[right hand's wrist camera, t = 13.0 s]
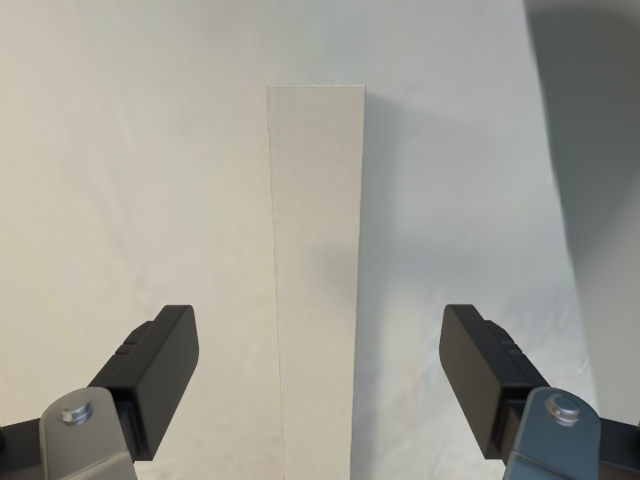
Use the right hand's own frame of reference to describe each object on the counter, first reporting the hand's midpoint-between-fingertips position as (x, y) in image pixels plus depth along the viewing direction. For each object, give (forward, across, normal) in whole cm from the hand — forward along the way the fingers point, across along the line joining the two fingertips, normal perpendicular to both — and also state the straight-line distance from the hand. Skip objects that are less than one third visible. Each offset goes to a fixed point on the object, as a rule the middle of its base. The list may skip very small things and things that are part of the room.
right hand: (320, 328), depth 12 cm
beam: (+15, 0, -27) cm, 31 cm away
